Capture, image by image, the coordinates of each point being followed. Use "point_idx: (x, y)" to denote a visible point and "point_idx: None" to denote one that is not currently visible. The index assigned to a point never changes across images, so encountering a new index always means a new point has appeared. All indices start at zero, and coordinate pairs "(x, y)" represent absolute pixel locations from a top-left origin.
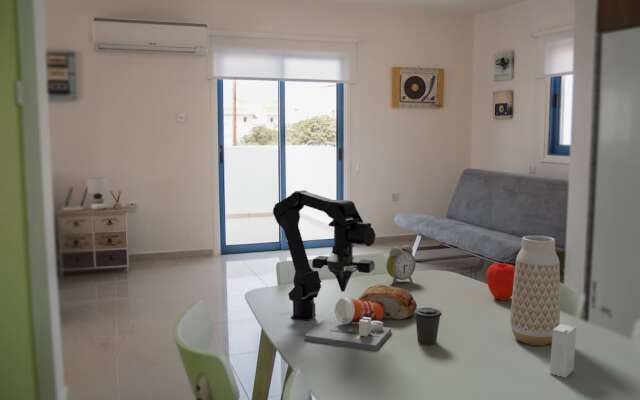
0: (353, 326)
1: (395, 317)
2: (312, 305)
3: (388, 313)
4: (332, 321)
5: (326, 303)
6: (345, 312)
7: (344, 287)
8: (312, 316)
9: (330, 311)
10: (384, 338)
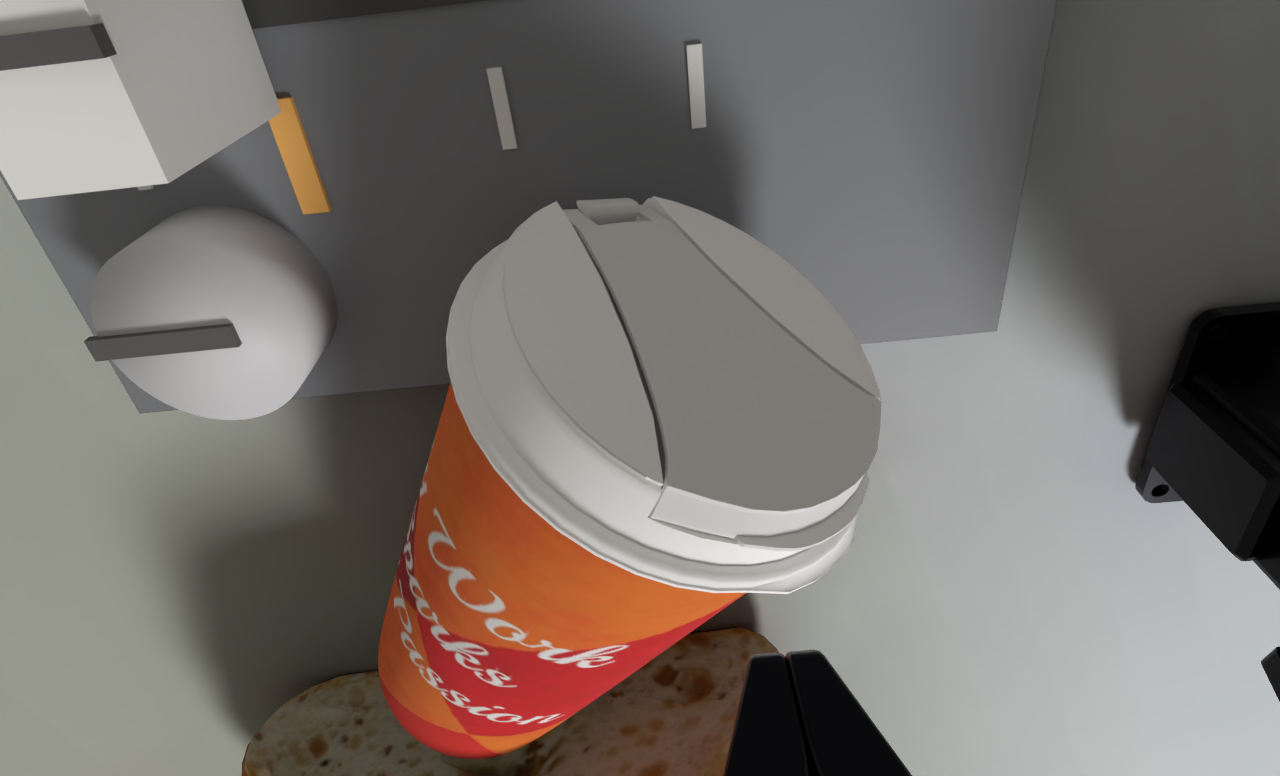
0: None
1: (374, 681)
2: (1268, 486)
3: None
4: (869, 307)
5: (1086, 739)
6: (621, 286)
7: (730, 760)
8: (1171, 392)
9: (1003, 618)
10: None
